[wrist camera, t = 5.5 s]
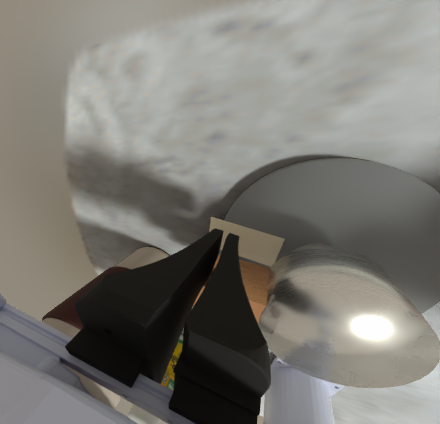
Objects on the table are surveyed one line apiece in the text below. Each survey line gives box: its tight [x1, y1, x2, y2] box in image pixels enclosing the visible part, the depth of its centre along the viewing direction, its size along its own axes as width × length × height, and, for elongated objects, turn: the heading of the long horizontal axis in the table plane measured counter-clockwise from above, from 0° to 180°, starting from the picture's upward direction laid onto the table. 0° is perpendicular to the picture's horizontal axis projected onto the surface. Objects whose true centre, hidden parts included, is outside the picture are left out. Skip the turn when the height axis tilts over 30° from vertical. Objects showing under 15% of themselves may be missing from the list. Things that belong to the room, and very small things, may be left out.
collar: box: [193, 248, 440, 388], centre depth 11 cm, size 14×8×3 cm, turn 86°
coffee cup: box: [41, 247, 169, 409], centre depth 16 cm, size 10×10×15 cm
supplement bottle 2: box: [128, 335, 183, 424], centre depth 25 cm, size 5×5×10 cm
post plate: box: [209, 158, 440, 314], centre depth 13 cm, size 17×18×6 cm
